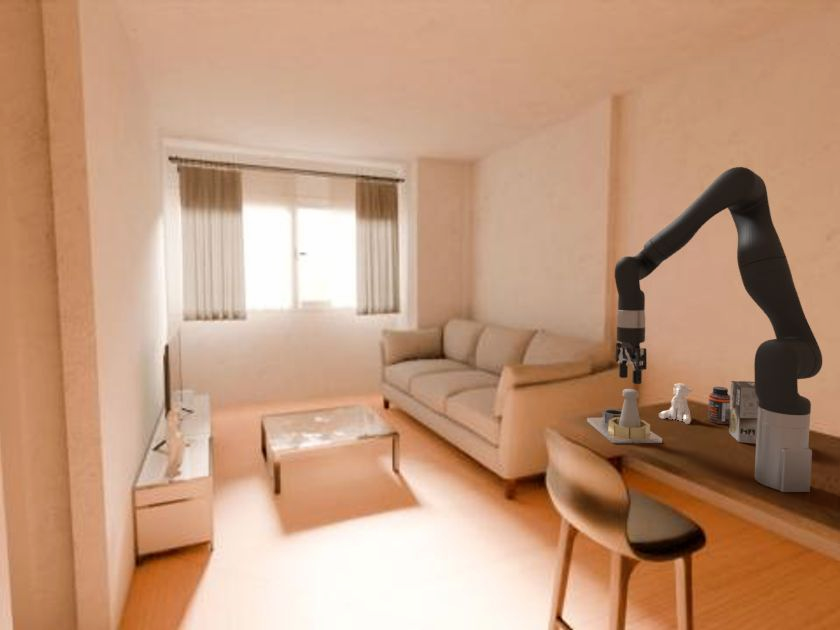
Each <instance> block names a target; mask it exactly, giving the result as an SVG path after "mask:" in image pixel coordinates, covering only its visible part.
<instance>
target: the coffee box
mask: <svg viewBox="0 0 840 630" xmlns="http://www.w3.org/2000/svg"><path fill="white" fill-rule="evenodd" d="M729 393H730V394H729V396H730V417H729V424H728V425H729V427H728V433H729V435H731V436H732V437H733V438H734V439H735V440H736V441H737V442H738V443H744V444H754V445H756V438H757V419H758V398H757V395H756V392H755V381H746V380H744V381H743V380H742V381H741V380H739V381H735V380H731V381H730V392H729Z"/></svg>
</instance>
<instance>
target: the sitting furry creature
mask: <svg viewBox="0 0 840 630" xmlns="http://www.w3.org/2000/svg"><path fill="white" fill-rule="evenodd" d="M672 390H673V395H674V396H673V397H672V399H671V401H670V404H671V405H670V408H669V409H667V410H663V411H661V412H659V413H658V418H660V419H662V420H665V419H666V418H668V419H667V420H672V419H673V421H677V420H679V422H681V421H683V422H682V423H684V424H685V425H690V424H691V421H692V418H691V412H690V408H689V406H688V399H687V398H686V397H687V396H688V395H689V394H690V393H691V392H692V390H693V388H692V387H691V388H689V387H688V386H687V385H686V384H685V383H683V382H678V383H674V387H673V389H672ZM675 419H676V420H675ZM682 419H683V420H682Z"/></svg>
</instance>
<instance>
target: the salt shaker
mask: <svg viewBox="0 0 840 630" xmlns="http://www.w3.org/2000/svg"><path fill="white" fill-rule="evenodd" d="M639 393H640V392H639V391H638V390H637V389H634V388H625V389H623V390H622V397H623V398H624V400H623V404H622V409H621V411H622V413H621V417H620V421H619V425H621V426H626V427H641V425H640V420H641V419H640V414H639V407H638V401H637V399H638V398H639V396H640V395H639Z"/></svg>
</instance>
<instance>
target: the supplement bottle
mask: <svg viewBox="0 0 840 630" xmlns="http://www.w3.org/2000/svg"><path fill="white" fill-rule="evenodd" d="M728 389H729V388H727V387H724V386H713V388H712V392H711V393H710V394H709V395H708V410H707V411H708V415H707V418H708V419H707V420H708V421H709V422H710V423H712V422H713V423H712V424H716V425H729V417H730V394H729V390H728Z"/></svg>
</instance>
